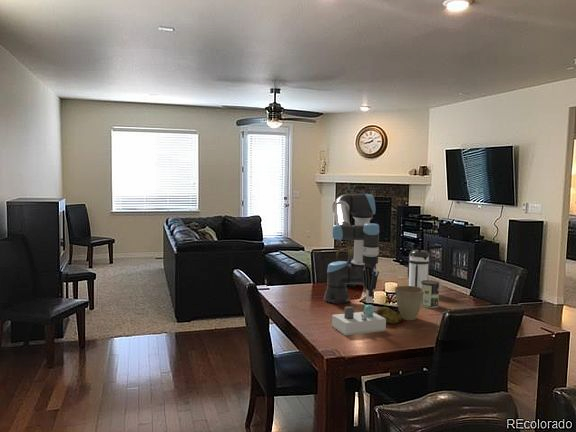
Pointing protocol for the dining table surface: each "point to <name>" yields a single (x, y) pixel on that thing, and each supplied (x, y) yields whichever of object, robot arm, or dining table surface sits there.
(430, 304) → the coffee can
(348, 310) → the knob charcoal
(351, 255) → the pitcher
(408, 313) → the plant pot
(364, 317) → the trim pot
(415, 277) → the coffee press
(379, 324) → the panel
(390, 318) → the potato
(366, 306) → the knob teal
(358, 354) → the dining table surface
